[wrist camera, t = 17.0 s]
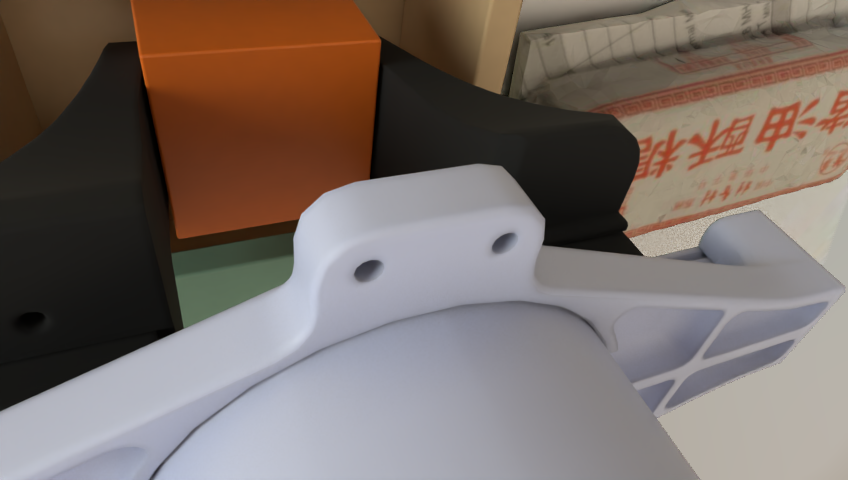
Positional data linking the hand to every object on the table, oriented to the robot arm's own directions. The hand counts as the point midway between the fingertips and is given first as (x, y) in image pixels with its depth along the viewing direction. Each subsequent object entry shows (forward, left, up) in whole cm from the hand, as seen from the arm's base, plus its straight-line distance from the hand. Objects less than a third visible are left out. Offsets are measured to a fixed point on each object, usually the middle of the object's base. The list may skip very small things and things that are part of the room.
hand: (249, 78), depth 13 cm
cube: (0, 0, -1) cm, 1 cm away
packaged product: (+19, -6, -5) cm, 21 cm away
